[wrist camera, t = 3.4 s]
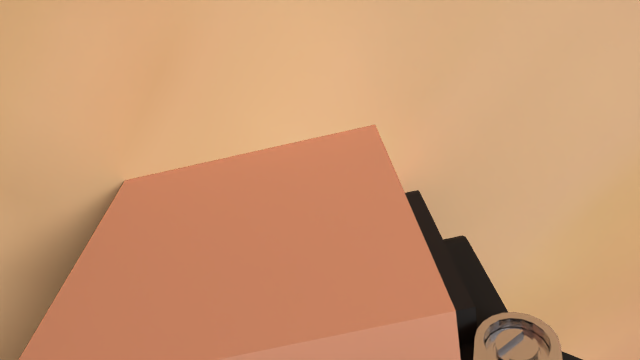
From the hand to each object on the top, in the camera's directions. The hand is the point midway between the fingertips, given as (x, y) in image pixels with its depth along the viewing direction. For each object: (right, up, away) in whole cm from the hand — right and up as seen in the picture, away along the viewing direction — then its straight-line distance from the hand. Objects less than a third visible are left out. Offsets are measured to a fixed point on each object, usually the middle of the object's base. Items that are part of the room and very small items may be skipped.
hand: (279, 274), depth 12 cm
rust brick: (0, 0, +1) cm, 1 cm away
